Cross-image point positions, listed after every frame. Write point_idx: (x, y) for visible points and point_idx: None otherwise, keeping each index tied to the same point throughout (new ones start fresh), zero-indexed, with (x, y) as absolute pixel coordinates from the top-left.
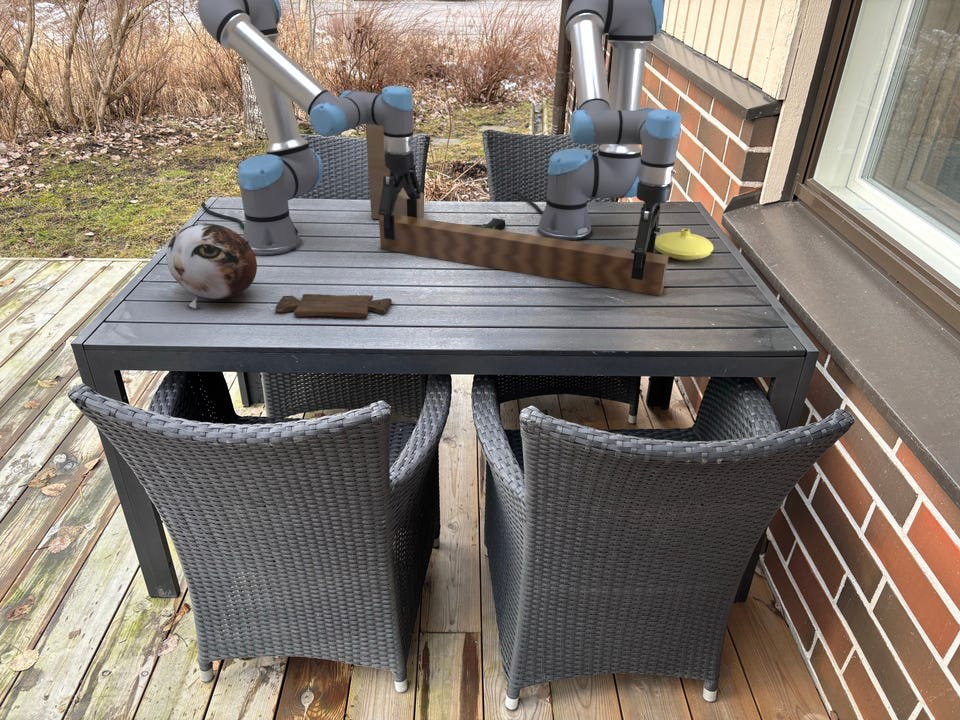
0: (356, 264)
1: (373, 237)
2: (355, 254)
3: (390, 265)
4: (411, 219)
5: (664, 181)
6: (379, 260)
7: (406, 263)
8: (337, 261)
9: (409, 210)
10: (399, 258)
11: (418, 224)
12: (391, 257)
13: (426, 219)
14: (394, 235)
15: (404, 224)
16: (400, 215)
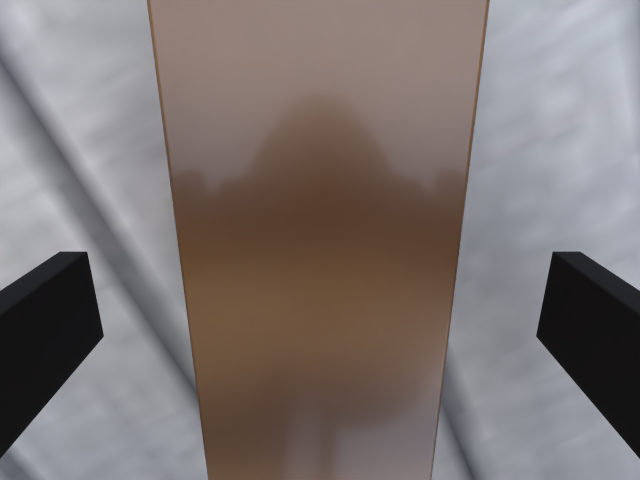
0: None
1: None
2: (494, 420)
3: (617, 173)
4: (276, 246)
5: None
6: (548, 273)
7: (560, 83)
8: (610, 451)
9: (25, 392)
10: (483, 172)
11: (430, 60)
12: (481, 228)
13: (170, 41)
14: (577, 266)
15: (455, 255)
16: (210, 412)
